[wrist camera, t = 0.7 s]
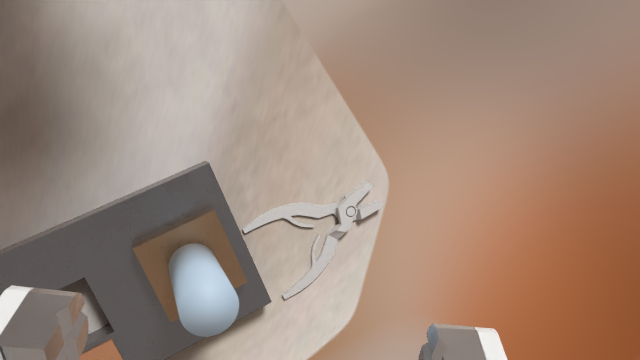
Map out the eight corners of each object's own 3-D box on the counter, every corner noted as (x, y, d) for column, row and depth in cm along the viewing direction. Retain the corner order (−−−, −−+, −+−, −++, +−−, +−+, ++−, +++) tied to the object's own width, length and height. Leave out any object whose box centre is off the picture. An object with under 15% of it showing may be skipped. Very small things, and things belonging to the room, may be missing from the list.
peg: (160, 256, 46) (168, 297, 36) (204, 235, 47) (224, 268, 37) (180, 297, 47) (193, 347, 37) (223, 275, 48) (248, 318, 38)
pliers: (243, 229, 52) (359, 156, 55) (240, 226, 53) (353, 155, 57) (288, 303, 55) (395, 229, 58) (284, 298, 56) (389, 226, 60)
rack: (-35, 265, 44) (-52, 281, 40) (205, 160, 51) (212, 165, 47) (53, 407, 48) (45, 434, 44) (265, 293, 55) (276, 308, 51)
